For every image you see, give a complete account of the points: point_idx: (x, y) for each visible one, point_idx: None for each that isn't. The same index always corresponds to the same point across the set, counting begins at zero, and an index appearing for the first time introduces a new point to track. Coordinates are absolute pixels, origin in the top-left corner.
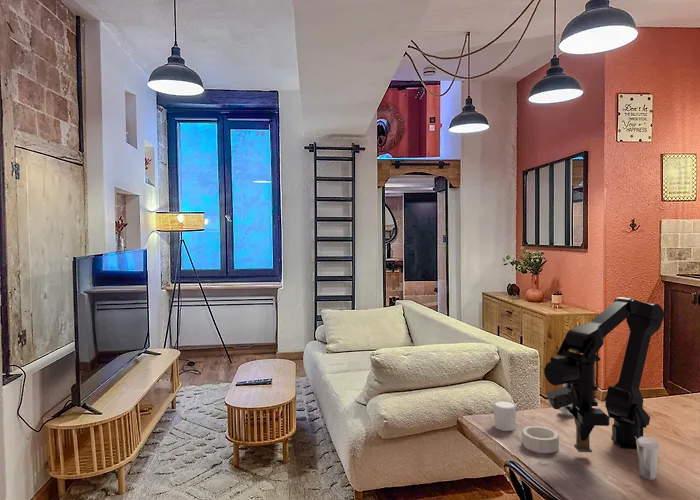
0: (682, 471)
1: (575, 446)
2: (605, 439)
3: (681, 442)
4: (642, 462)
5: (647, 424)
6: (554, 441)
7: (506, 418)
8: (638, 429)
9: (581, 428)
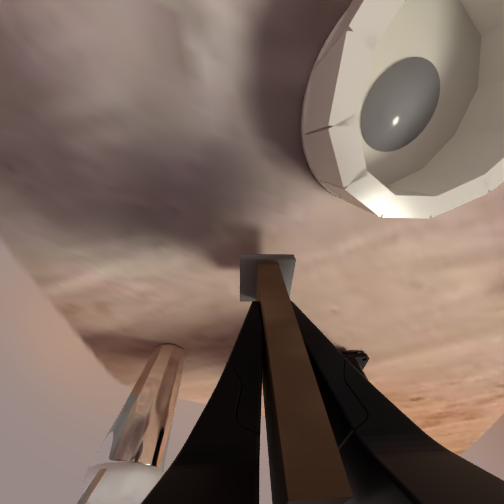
0: (209, 395)
1: (279, 257)
2: (364, 340)
3: None
4: (137, 389)
5: None
6: (331, 170)
7: None
8: None
9: (223, 374)
